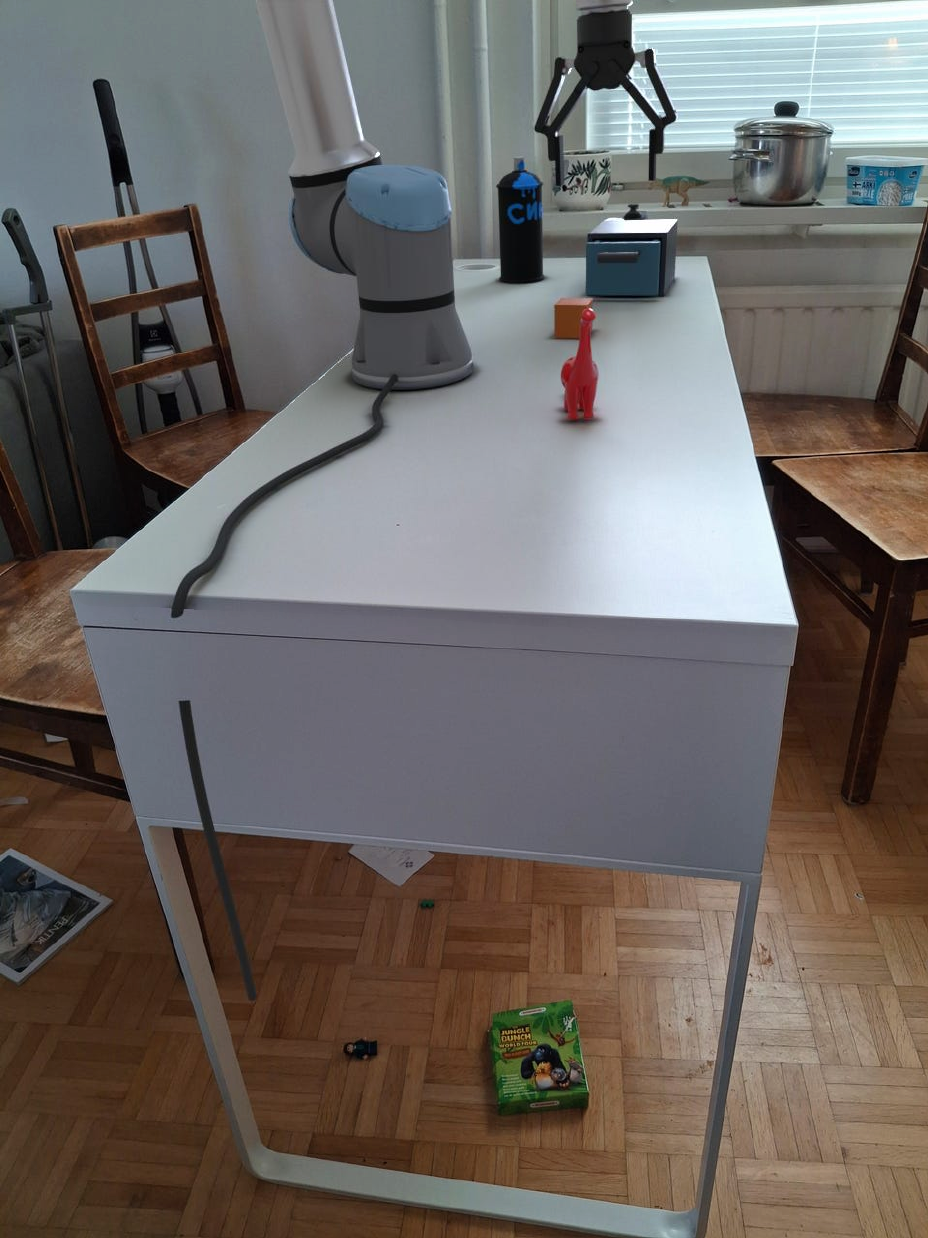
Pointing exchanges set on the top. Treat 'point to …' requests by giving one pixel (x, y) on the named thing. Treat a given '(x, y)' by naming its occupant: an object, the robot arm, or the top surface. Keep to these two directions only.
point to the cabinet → (644, 230)
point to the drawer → (623, 266)
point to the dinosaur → (581, 373)
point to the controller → (635, 213)
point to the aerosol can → (520, 225)
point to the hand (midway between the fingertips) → (605, 182)
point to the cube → (570, 316)
